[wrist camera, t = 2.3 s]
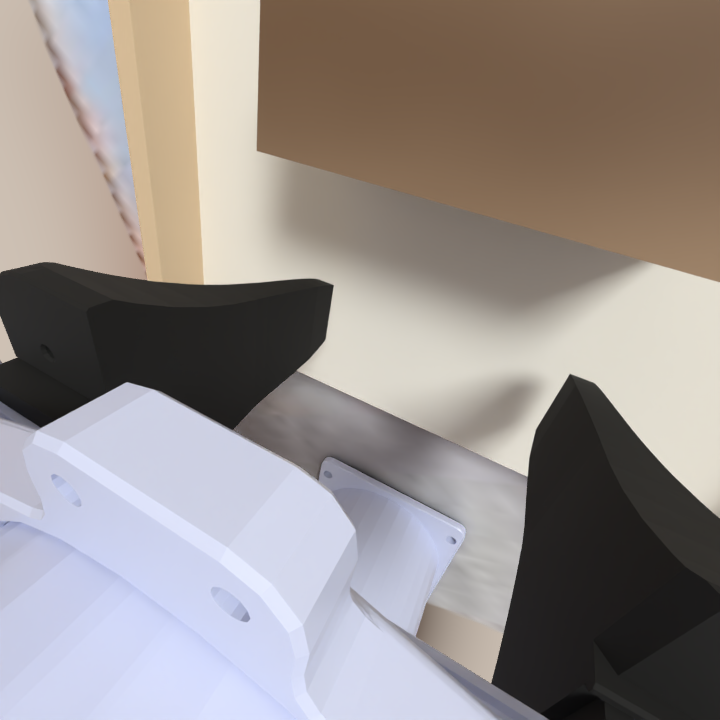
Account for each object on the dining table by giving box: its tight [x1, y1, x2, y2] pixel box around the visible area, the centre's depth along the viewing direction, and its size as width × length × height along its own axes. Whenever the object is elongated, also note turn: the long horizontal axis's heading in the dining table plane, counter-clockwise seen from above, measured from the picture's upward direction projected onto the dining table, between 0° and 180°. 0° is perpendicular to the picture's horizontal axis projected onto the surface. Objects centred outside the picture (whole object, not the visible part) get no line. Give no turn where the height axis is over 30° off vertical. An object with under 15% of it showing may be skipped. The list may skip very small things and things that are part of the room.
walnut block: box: [256, 0, 720, 282], centre depth 7 cm, size 4×9×4 cm, turn 78°
